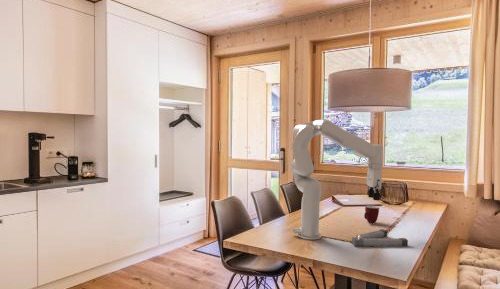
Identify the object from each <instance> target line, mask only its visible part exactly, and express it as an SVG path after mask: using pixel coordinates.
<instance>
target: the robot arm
mask: <svg viewBox="0 0 500 289" xmlns="http://www.w3.org/2000/svg"><path fill="white" fill-rule="evenodd" d="M292 136H293V137H294V139H293V141H292V146H291V149H292V154H293V160H292V162H291V168H290V169H291V172H292V173H291V174H292V176H293V179H294V183H295V185H296V187H297V189H298V191H300V192H301V193H302V197H301V204H300V205H301V207H300V208H301V209H300V210H301V211H300V215H301V216H300V226H299V227H297V228H295V227H294V228H293V227H292V228H291V232H292V233H295V234H297V236H298V237H299V239H300V238H301V239H303V240H309V241H310V240H312V241H314V240H319V239H321V238H322V236H323V235H322V233H321V232H320V231H319V230H320V202H321V195H322V184H321V182H320V181H319V180H318V179H317V178H315V177H312V175H313V173H314V171H315V167H314V163H313V160H312V157H311V153H310V149H309V148H310V143H311V141H312V140H313V138H314V137H317V136H323V137H325V138H326V139H328V140H330V141H331V142H333V143H334V144H336V145H338V146H341V147H343V148H346V149H350V150H352V152H353V154H354V155H355V156H356V157H358V158H364V159H367V173H366V182H365V183H366V185H367V186H368V198H373V201H380V200H381V199H380V197H381V196H380V194H381V190H382V182H383V180H382V176H383V175H382V173H383V172H382V170H383V159H384V157H383V156H384V155H383V154H384V152H383V151H384V147H383V145H382V144H381V143H380V144H379V143H378V144H376V143H373V144H372V143H370V142H369V141H367V140H365V139H364V138H362V137H359V136H358V135H355V134H354V133H352V132H349V131H347V130H345V129H343V128H342V127H340V126H339V125H338V124H335V123H334V122H332V121H330V120H328V119H317V120H313V121H309V122H305V123H300V124H297V125H295V126H294V128H293V129H292Z"/></svg>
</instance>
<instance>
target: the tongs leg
mask: <svg viewBox="0 0 500 289" xmlns="http://www.w3.org/2000/svg"><path fill="white" fill-rule="evenodd" d="M358 236H362V238H387V237H388V230H387V229H383V228H380V229H379V230H375V231H371V232H370V231H369V232H366V233H362V234H357V235H356V237H355V238H358Z"/></svg>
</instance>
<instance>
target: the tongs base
mask: <svg viewBox="0 0 500 289" xmlns="http://www.w3.org/2000/svg"><path fill="white" fill-rule="evenodd" d="M408 242H409V240H408V239H407V238H405V237H397V238H392V237H391V238H387V237H383V238H362V236H358V238H356V237H352V238H351V244H352V246H353V247H355V248H358V247H359V248H360V247H408V244H409V243H408Z"/></svg>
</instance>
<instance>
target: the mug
mask: <svg viewBox="0 0 500 289" xmlns="http://www.w3.org/2000/svg"><path fill="white" fill-rule="evenodd" d="M364 211H365V213H364V215H363V216H364V217H363V218H364V219H365V220H366V221H367V223H368V222H369V223H368V224H371V223H374V224H376V222H377V220H378V218H379V213H380V207H379V206H376V205H370V204H369V205H365V208H364Z"/></svg>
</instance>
